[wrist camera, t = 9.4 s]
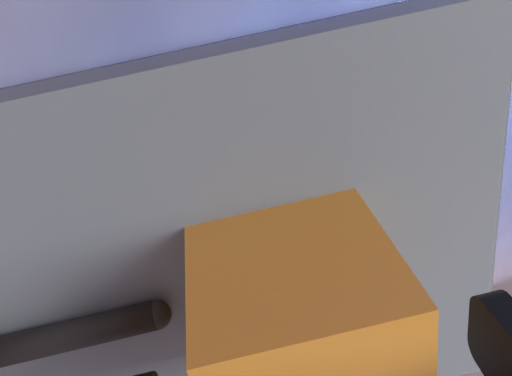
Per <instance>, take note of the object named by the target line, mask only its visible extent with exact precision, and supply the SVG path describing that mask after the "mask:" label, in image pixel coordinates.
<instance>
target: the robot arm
mask: <svg viewBox="0 0 512 376" xmlns="http://www.w3.org/2000/svg"><path fill="white" fill-rule="evenodd" d="M467 340H468V346H469V349H470V352H471V355H472V357H473V359H474V361H475V362H476V364H477V366H478V367H479V369H480V370H481V371H482V373H483V374H484V376H512V297H511V296H510V295H509V294H508V293H507V292H506V291H504V290H496V291H492V292H488V293H484V294H479V295H475V296H472V297H471V298H470V302H469V317H468V333H467ZM133 376H158V374H157V372H156V371H150V372H146V373H142V374H138V375H133Z"/></svg>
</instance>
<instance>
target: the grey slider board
mask: <svg viewBox="0 0 512 376" xmlns="http://www.w3.org/2000/svg"><path fill="white" fill-rule="evenodd" d="M511 82H512V0H409V1H404V2H399V3H395V4H390V5H386V6H381V7H376V8H372V9H367V10H363V11H358V12H353V13H349V14H344V15H339V16H335V17H330V18H326V19H321V20H316V21H312V22H307V23H303V24H298V25H293V26H289V27H284V28H280V29H275V30H270V31H266V32H261V33H256V34H252V35H247V36H243V37H238V38H233V39H229V40H224V41H220V42H215V43H210V44H206V45H201V46H197V47H192V48H187V49H183V50H178V51H173V52H169V53H164V54H160V55H155V56H150V57H146V58H141V59H137V60H132V61H127V62H123V63H118V64H113V65H109V66H104V67H100V68H95V69H90V70H86V71H81V72H77V73H72V74H67V75H63V76H58V77H54V78H49V79H44V80H40V81H35V82H30V83H26V84H21V85H17V86H12V87H7V88H3V89H0V376H133V375H138V374H142V373H146V372H150V371H156V372H157V374H158V376H188V374H187V371H186V306H185V229H184V227H188V226H192V225H196V224H201V223H205V222H209V221H214V220H218V219H223V218H227V217H231V216H236V215H240V214H244V213H249V212H253V211H258V210H262V209H266V208H271V207H275V206H279V205H284V204H288V203H293V202H297V201H301V200H306V199H310V198H315V197H319V196H323V195H328V194H332V193H336V192H341V191H345V190H350V189H354V188H355V189H356V190H357V192H358V193H359V194H360V196H361V197H362V199H363V200H364V202H365V203H366V205H367V206H368V208H369V209H370V211H371V212H372V213H373V215H374V216H375V218H376V219H377V221H378V222H379V224H380V225H381V227H382V228H383V229H384V231H385V232H386V234H387V235H388V237H389V238H390V240H391V241H392V243H393V244H394V245H395V247H396V248H397V250H398V251H399V253H400V254H401V256H402V257H403V259H404V260H405V261H406V263H407V264H408V266H409V267H410V269H411V270H412V272H413V273H414V275H415V276H416V278H417V279H418V280H419V282H420V283H421V285H422V286H423V288H424V289H425V291H426V292H427V294H428V295H429V296H430V298H431V299H432V301H433V302H434V304H435V305H436V307H437V308H438V310H439V321H438V363H437V376H463V375H467V374H471V373H475V372H479V371H481V370H480V369H479V367H478V366H477V364H476V362H475V361H474V359H473V357H472V355H471V352H470V349H469V346H468V340H467V333H468V317H469V302H470V298H471V297H472V296H475V295H479V294H484V293H488V292H492V283H493V272H494V262H495V251H496V241H497V230H498V219H499V209H500V198H501V188H502V177H503V166H504V156H505V145H506V135H507V124H508V113H509V103H510V92H511Z"/></svg>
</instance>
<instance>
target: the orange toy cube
mask: <svg viewBox="0 0 512 376" xmlns="http://www.w3.org/2000/svg"><path fill="white" fill-rule="evenodd" d="M184 229H185V306H186V371H187V374H188V376H437V363H438V321H439V310H438V308H437V307H436V305H435V304H434V302H433V301H432V299H431V298H430V296H429V295H428V294H427V292H426V291H425V289H424V288H423V286H422V285H421V283H420V282H419V280H418V279H417V278H416V276H415V275H414V273H413V272H412V270H411V269H410V267H409V266H408V264H407V263H406V261H405V260H404V259H403V257H402V256H401V254H400V253H399V251H398V250H397V248H396V247H395V245H394V244H393V243H392V241H391V240H390V238H389V237H388V235H387V234H386V232H385V231H384V229H383V228H382V227H381V225H380V224H379V222H378V221H377V219H376V218H375V216H374V215H373V213H372V212H371V211H370V209H369V208H368V206H367V205H366V203H365V202H364V200H363V199H362V197H361V196H360V194H359V193H358V192H357V190H356V189H355V188H354V189H350V190H345V191H341V192H336V193H332V194H328V195H323V196H319V197H315V198H310V199H306V200H301V201H297V202H293V203H288V204H284V205H279V206H275V207H271V208H266V209H262V210H258V211H253V212H249V213H244V214H240V215H236V216H231V217H227V218H223V219H218V220H214V221H209V222H205V223H201V224H196V225H192V226H188V227H184Z"/></svg>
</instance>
